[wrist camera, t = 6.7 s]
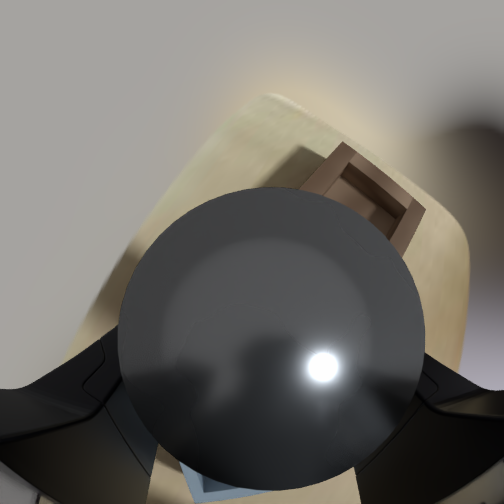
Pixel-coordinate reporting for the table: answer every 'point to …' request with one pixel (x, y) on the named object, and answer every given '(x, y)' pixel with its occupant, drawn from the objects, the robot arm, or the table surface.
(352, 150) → the socket block
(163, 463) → the table surface
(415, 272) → the table surface
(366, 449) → the metallic grey cylinder
